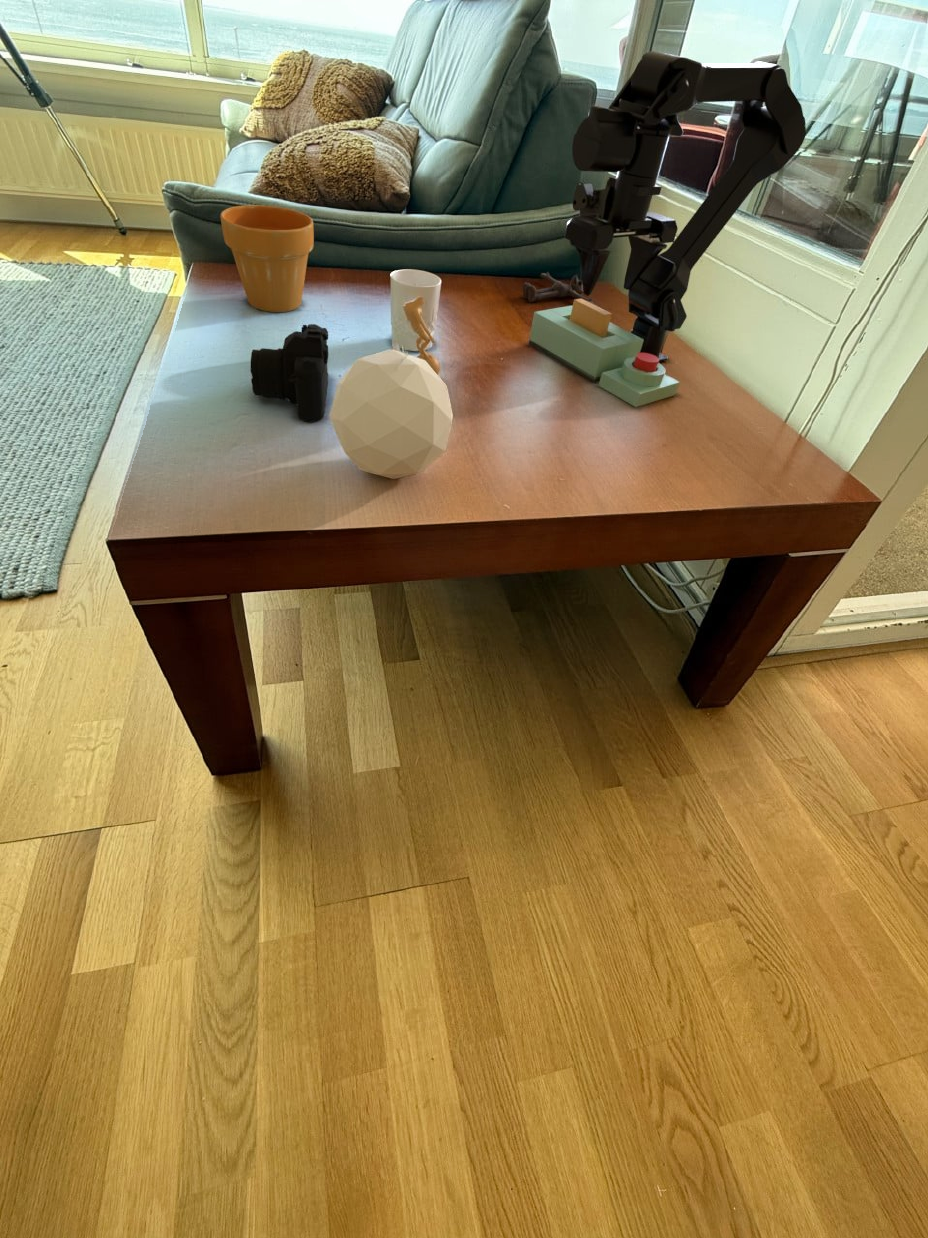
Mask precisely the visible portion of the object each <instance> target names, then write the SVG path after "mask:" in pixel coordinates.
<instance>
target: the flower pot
mask: <svg viewBox="0 0 928 1238" xmlns="http://www.w3.org/2000/svg"><path fill="white" fill-rule="evenodd" d="M220 222H221V231H222V235H223V240H224V243H225V245H226V246H227V247H229V249H230V250H231V252H232V256H233V258H234V262H235V265H236V268H237V272H238V275H239V277H240V281H241V283H242V287H243V290H244V293H245V297H246V299H247V302H248V303H249V304H250V306H251V307H252V308H255V309H257V310H260V311H264V312H269V313H286V312H291V311H294V310H296V309H298V308H300V307H301V304H302V300H303V293H304V286H305V281H306V280H305V279H306V274H307V273H306V272H307V265H308V260H309V259H308V258H309V253H311V252H312V251H313V249H314V247H315V246H314V244H315V243H314V242H315V234H314V233H315V232H314V231H315V229H314V220H313V219H312V217H310V216H309V215H307V214H306V213H303V212H301V211H298V210H295V209H292V208H286V207H281V206H273V205H263V204H262V205H259V204H252V205H251V204H250V205H249V204H246V205H236V206H231V207H228V208H226V209H224V210H222V211H221V213H220Z"/></svg>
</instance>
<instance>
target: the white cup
mask: <svg viewBox="0 0 928 1238" xmlns="http://www.w3.org/2000/svg"><path fill="white" fill-rule="evenodd" d="M389 278H390V323H391V324H390V325H391V343H393V344H394V343H396V345H397V343H398V344H399V347H400V349H402V345H403V349H404V350H405V349H406V351H411V352H420V351H419V350H418V348H417V343H416V341H417V339H418V338H420V336H419V335H418V334H417V333H416V332H414V330H413V328H412V326H411V323H410V321H409V320H407V316H406V314H405V312H404V309H403V306H404V305H405V304H406V303H407V302H410V301H413V300H415V299H416V298H418V297H419V296H421V297H422V298H423V302H424V304H423V305H422V307H421V310H422V319H423V322H424V323H425V325H426V328H427V329H428V330H429V332H430V334H431V336H432V337H433V338H434V339H435V337H434V336H435V330H436V325H437V318H438V312H439V305H440V298H441V297H440V295H441V289H442V281H443V280H442V278H441V277H440V276H438V275H436V274H434V273H432V272H429V271H425V270H420V269H411V268H409V269H408V268H407V269H404V268H403V269H398V270H394V271H392V272H391V273H390V275H389ZM408 321H409V322H408ZM421 327H422V325H421ZM422 328H423V327H422ZM423 330H424V329H423ZM424 331H425V330H424ZM423 343H425V341H424V340H422V342H421V343H420V344H419V345H420V347H421V345H422V344H423ZM432 346H434V344H432V342H431V340H430V342H429V344H428V345H427V346H426V348H424V351H427V350H430V349H431V348H432Z"/></svg>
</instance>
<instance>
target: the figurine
mask: <svg viewBox="0 0 928 1238" xmlns="http://www.w3.org/2000/svg"><path fill="white" fill-rule="evenodd" d="M423 304H424V302H423V298H422V297H421V296H419V297H418V298H416V299H415V300H413V301H410V302H407V303H406V304H405V305H404V306H403V309H404V312H405V314H406V316H407V320H409V321H410V323H411V326H412V328H413V330H414V332H416V333H417V334H418V335H419V336H420V338H418V339H417V341H416V343H417V348H418V350H419V351H418V352H419V354H418V355H417V356H416V357H417V358H420V359H423V360H425V361H426V362H427V363H428V364H429V365H430V367H431V368H432V369H433V370H434V371H435V373H436V374H437V375H438V376H439V374H440V370H441V365H440V361H439V359H438V358H437V356H435V355H434V354H432V353H429V352H427V350H424V348H426V346H427V345H428V344H429V342H430V340H431V342H432V344H433V346H435V344H436V342H435V337H434V338H433V337H432V336H431V334H430V332H429V330H428V329H427V328H426V325H425V323H424V322H423V319H422V310H421V307H422V305H423ZM409 321H408V322H409ZM421 325H422V327H423V328H422V327H421ZM423 329H424V330H425V331H424V330H423ZM422 340H424V341H425V343H423V344H422V345H421V347H420V345H419V344H420V343H421V342H422Z"/></svg>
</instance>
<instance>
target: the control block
mask: <svg viewBox="0 0 928 1238" xmlns="http://www.w3.org/2000/svg"><path fill="white" fill-rule="evenodd" d="M634 361H635V357H632V358H627V359H626V360H625V361H624V364H623V367H622V368H618V369H614V370H610V371H606V372H602V375H601V379H600V381H599V383H598V387H600V388H601V389H604V390H606V391H607V392H608V393H611V394H612V395H614V396H615V397H617V398H619V399H621V400H622V401H624V402H626V403H627V404H629V405H631V406H633V407H634V408H638V407H641V406H644V405H647V404H650V403H654V402H657V401H660V400H664V399H667V398H671V397H673V396H676V394H677V391H678V389H679V385H680V384H681V382H680V381H679V380H676V379H675V378H673V377H671V376H669V375H667V374H666V371H667V370H666V368H665V367H664V366H663V365H662V364H661V363H660V362H658V365H657V368H656V371H655V372H645V371H641V370H638V369H636V368H635V367H633V364H634Z"/></svg>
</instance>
